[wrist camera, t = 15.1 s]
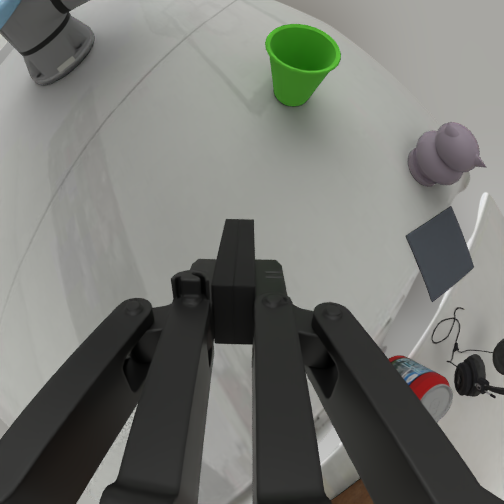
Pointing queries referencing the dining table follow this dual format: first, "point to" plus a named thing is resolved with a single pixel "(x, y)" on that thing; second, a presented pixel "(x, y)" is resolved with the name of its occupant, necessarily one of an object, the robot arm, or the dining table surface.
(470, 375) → the headphones
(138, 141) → the dining table surface
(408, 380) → the beverage can
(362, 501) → the bread
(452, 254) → the placemat
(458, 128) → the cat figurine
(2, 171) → the dining table surface
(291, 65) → the cup
